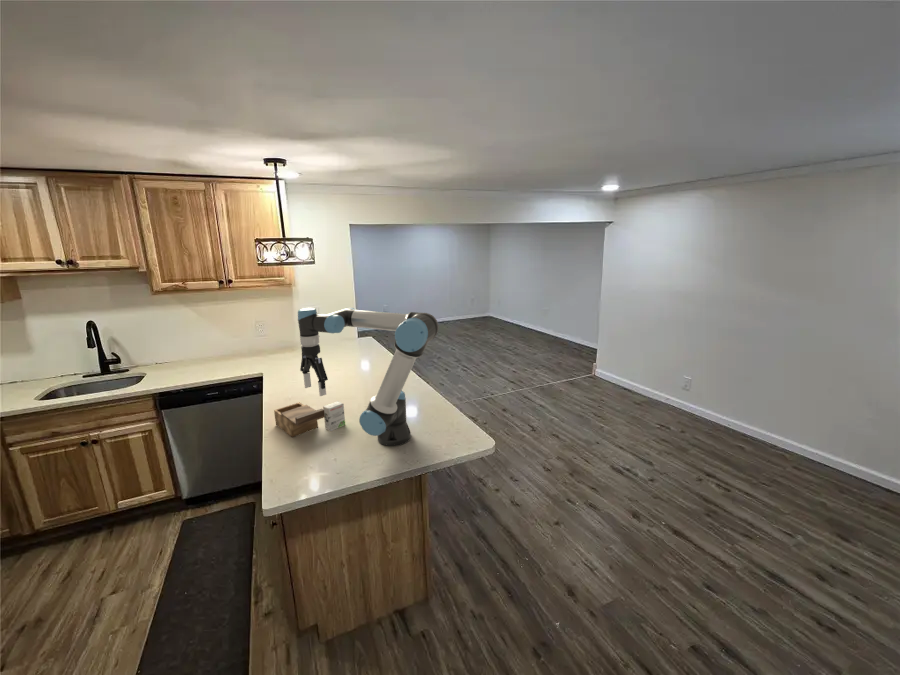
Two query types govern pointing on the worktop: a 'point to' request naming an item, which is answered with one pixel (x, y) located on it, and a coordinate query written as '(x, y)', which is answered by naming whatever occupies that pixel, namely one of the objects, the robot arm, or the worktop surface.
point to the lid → (303, 415)
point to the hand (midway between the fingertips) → (315, 391)
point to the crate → (288, 425)
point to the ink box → (334, 415)
